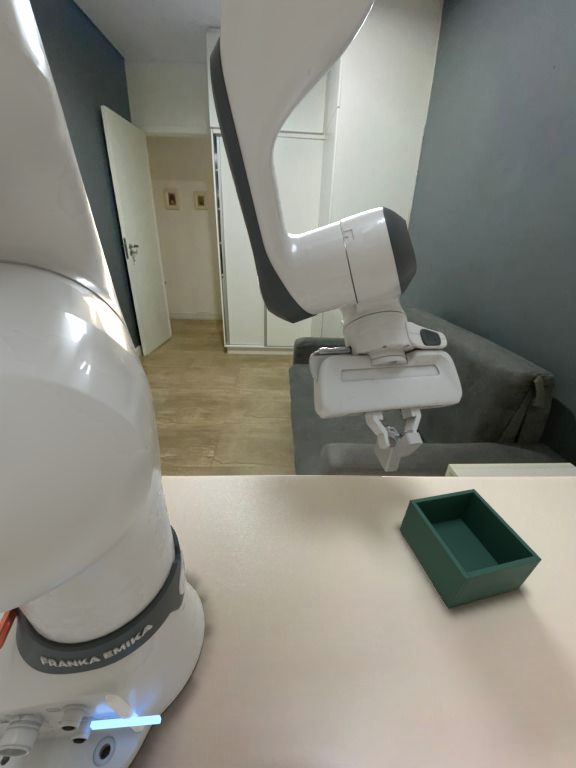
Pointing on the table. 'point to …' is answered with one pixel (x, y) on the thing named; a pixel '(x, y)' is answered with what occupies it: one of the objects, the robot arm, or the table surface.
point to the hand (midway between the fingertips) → (399, 446)
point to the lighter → (397, 449)
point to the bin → (466, 547)
